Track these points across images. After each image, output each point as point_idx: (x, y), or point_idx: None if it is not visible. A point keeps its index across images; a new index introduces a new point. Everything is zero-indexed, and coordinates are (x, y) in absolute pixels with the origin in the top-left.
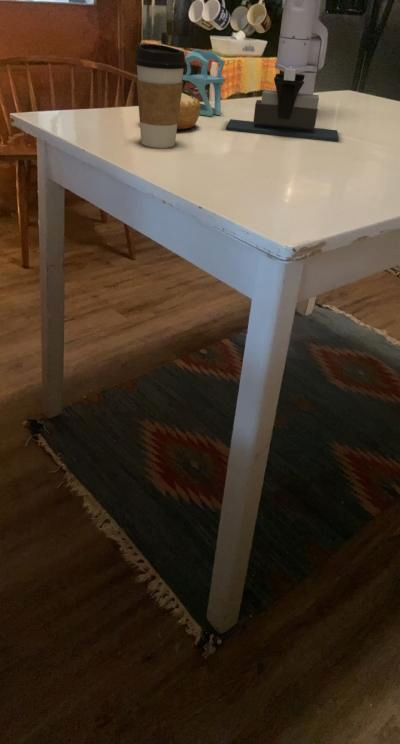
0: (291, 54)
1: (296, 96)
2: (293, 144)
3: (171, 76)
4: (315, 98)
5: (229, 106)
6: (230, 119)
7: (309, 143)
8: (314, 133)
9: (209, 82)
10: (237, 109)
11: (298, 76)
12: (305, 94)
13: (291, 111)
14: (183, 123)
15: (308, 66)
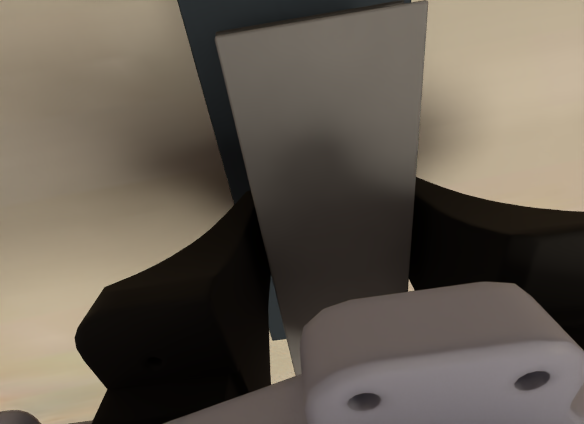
0: None
1: (496, 202)
2: (545, 82)
3: None
4: (423, 40)
5: (29, 384)
6: (278, 339)
7: (506, 7)
8: (343, 6)
9: None
10: (49, 362)
11: (229, 339)
12: (286, 163)
13: (416, 177)
14: None
15: (546, 405)
